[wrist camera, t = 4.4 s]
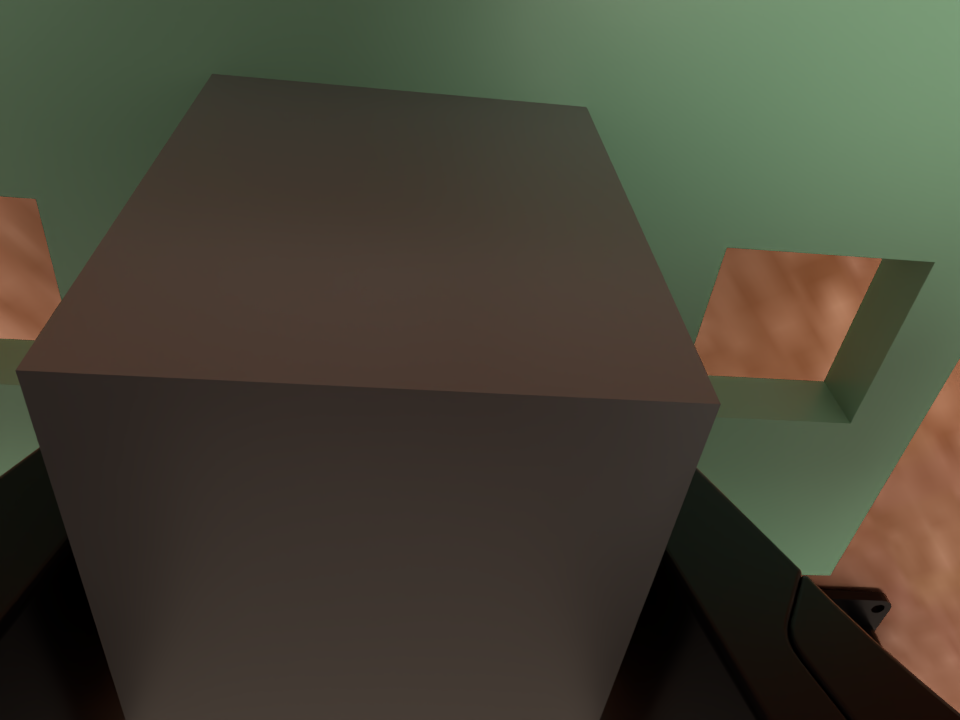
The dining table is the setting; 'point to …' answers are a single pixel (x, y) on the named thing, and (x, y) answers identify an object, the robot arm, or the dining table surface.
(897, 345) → the board
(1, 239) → the dining table surface
